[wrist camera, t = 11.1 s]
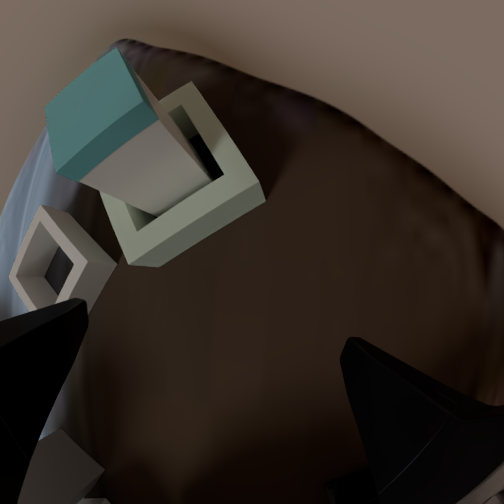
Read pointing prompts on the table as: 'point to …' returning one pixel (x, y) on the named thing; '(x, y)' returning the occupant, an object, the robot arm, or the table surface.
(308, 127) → the table surface
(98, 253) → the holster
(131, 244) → the socket block
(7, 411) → the robot arm
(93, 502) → the skincare box
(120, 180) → the plug
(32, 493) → the perfume bottle
